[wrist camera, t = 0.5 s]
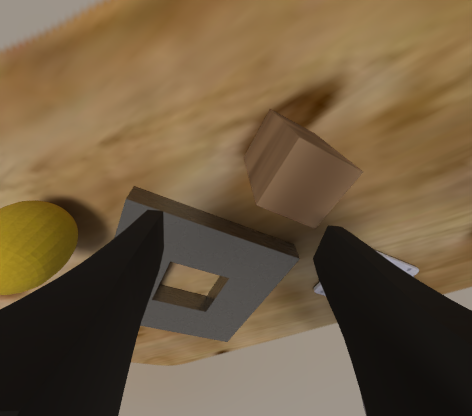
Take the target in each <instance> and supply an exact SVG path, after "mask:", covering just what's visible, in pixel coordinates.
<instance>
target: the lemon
mask: <svg viewBox="0 0 472 416" xmlns="http://www.w3.org/2000/svg"><path fill="white" fill-rule="evenodd" d="M77 241H78V229H77V225H76V222H75V221H74V219H73V217H72V216H71V215H70V214H69V213H68V212H67V211H66V210H64V209H63V208H61V207H59V206H57V205H55V204H52V203H49V202H43V201H22V202H18V203H15V204H11V205H8V206H5V207H3V208H1V209H0V295H9V294H16V293H21V292H25V291H28V290H30V289H33V288H35V287H38V286H39V285H41V284H43V283H44V282H46V281H47V280H48V279H50V278H51V277H52V276H53V275H55V274H56V273H57V272H58V271H59V270H60V269H61V268H62V267H63V266H64V265H65V264H66V263H67V262H68V260H69V259H70V257H71V255H72V254H73V252H74V250H75V248H76V245H77Z"/></svg>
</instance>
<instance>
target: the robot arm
mask: <svg viewBox="0 0 472 416" xmlns="http://www.w3.org/2000/svg"><path fill="white" fill-rule="evenodd" d="M163 251H164V217H163V211H159V210H147V211H145V212H144V213H143V214H142V215H141V216H140V217H139V218H137V219H136V220H135V221H134V222H133V223H132V224H131V225H130V226H128V227H127V228H126V229H125V230H124V231H123V232H121V233H120V234H119V235H118V236H117V237H115V238H114V239H113V240H112V241H110V242H109V243H108V244H107V245H105V246H104V247H103V248H101V249H100V250H99V251H97V252H96V253H95V254H93V255H92V256H91V257H89V258H88V259H86V260H85V261H84V262H82V263H81V264H79V265H78V266H76V267H75V268H73V269H71V270H70V271H68V272H67V273H65V274H64V275H62V276H60V277H59V278H57V279H55V280H54V281H52V282H50V283H48V284H47V285H45V286H43V287H41V288H39V289H38V290H36V291H34V292H32V293H30V294H29V295H27V296H25V297H23V298H22V299H20V300H18V301H16V302H14V303H12V304H10V305H8V306H6V307H4V308H2V309H0V416H118V414H119V410H120V405H121V401H122V396H123V392H124V388H125V384H126V379H127V375H128V371H129V367H130V363H131V358H132V354H133V350H134V346H135V342H136V338H137V334H138V331H139V328H140V325H141V321H142V318H143V316H144V313H145V310H146V307H147V304H148V301H149V298H150V296H151V293H152V290H153V287H154V284H155V281H156V278H157V276H158V273H159V269H160V265H161V261H162V256H163ZM313 260H314V264H315V268H316V272H317V275H318V278H319V281H320V282H319V283H318V284H317V285H316V286H315V287H314V292H315V293H318V294H321V295H324V296H326V297H327V300H328V302H329V304H330V306H331V309H332V311H333V313H334V315H335V318H336V320H337V322H338V324H339V327H340V329H341V332H342V334H343V337H344V340H345V343H346V346H347V349H348V352H349V355H350V358H351V361H352V364H353V368H354V371H355V374H356V378H357V381H358V385H359V388H360V391H361V395H362V400H363V406H364V410H365V414H366V416H472V311H471V310H469V309H467V308H465V307H463V306H462V305H460V304H458V303H456V302H454V301H452V300H451V299H449V298H447V297H445V296H444V295H442V294H440V293H439V292H437V291H435V290H434V289H432V288H430V287H428V286H427V285H425V284H424V283H422V282H420V281H419V280H417V279H416V278H414V275H416V274H417V273H418V272H419V269H418V268H417V267H415V266H413V265H410V264H408V263H405V262H403V261H401V260H398V259H396V258H393V257H391V256H388V255H386V254H383V253H381V252H378V251H376V250H374V249H372V248H371V247H370V246H368V245H367V244H365V243H364V242H363V241H361V240H360V239H359V238H357V237H356V236H354V235H353V234H351V233H350V232H349V231H347V230H345V229H344V228H342V227H339V226H328V227H327V229H326V231H325V233H324V235H323V238H322V240H321V242H320V244H319V246H318V249H317V251H316V253H315V255H314V257H313Z"/></svg>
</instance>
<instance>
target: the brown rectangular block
mask: <svg viewBox="0 0 472 416" xmlns="http://www.w3.org/2000/svg"><path fill="white" fill-rule="evenodd" d="M244 161H245V164H246V168H247V172H248V176H249V180H250V184H251V187H252V191H253V195H254V199H255V203H256V205H257V206H259V207H262V208H264V209H267V210H269V211H272V212H274V213H277V214H279V215H282V216H284V217H287V218H289V219H292V220H294V221H297V222H299V223H302V224H304V225H307V226H309V227H312V228H314V229H316V227H317V226H318V225H319V224H320V223H321V222H322V220H323V219H324V218H325V217H326V216H327V214H328V213H329V212H330V211H331V210H332V209H333V207H334V206H335V205H336V204H337V203H338V201H339V200H340V199H341V198H342V197H343V195H344V194H345V193H346V192H347V191H348V190H349V188H350V187H351V186H352V185H353V184H354V182H355V181H356V180H357V179H358V178H359V177H360V175H361V174H362V173H363V171H362V170H361V169H359V168H358V167H357V166H355V165H354V164H353V163H352V162H350V161H349V160H348V159H346V158H345V157H344V156H343V155H341V154H340V153H339V152H338V151H336V150H335V149H334V148H332V147H331V146H330V145H329V144H327V143H326V142H325V141H324V140H322V139H321V138H320V137H318V136H317V135H316V134H315V133H313V132H311V131H309V130H307V129H306V128H304V127H302V126H300V125H298V124H297V123H295V122H293V121H291V120H289V119H288V118H286V117H284V116H282V115H280V114H279V113H277V112H275V111H273V110H271V109H270V110H269V112H268V113H267V115H266V117H265V119H264V121H263V123H262V125H261V126H260V128H259V130H258V132H257V134H256V136H255V138H254V139H253V141H252V143H251V145H250V147H249V149H248V151H247V152H246V154H245V156H244Z"/></svg>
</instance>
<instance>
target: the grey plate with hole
mask: <svg viewBox="0 0 472 416" xmlns="http://www.w3.org/2000/svg"><path fill="white" fill-rule="evenodd" d="M147 210H159V211H163V217H164V251H163V256H162V261H161V265H160V269H159V273H158V276H157V278H156V281H155V284H154V287H153V290H152V293H151V296H150V298H149V301H148V304H147V307H146V310H145V313H144V316H143V318H142V321H141V326H146V327H151V328H156V329H162V330H167V331H172V332H177V333H183V334H188V335H193V336H198V337H204V338H209V339H214V340H219V341H225V342H228V340H229V339H230V338H231V337H232V336H233V335H234V334H235V332H236V331H237V330H238V329H239V328H240V327H241V326H242V324H243V323H244V322H245V321H246V320H247V319H248V318H249V316H250V315H251V314H252V313H253V312H254V311H255V310H256V308H257V307H258V306H259V305H260V304H261V303H262V302H263V300H264V299H265V298H266V297H267V296H268V295H269V294H270V292H271V291H272V290H273V289H274V288H275V287H276V286H277V284H278V283H279V282H280V281H281V280H282V279H283V278H284V276H285V275H286V274H287V273H288V272H289V271H290V270H291V268H292V267H293V266H294V265H295V264H296V263H297V262H298V260H299V259H300V258H299V256H298V253H297V251H296V248H295V246H294V244H291V243H288V242H286V241H283V240H280V239H277V238H275V237H272V236H269V235H266V234H264V233H261V232H258V231H255V230H253V229H250V228H247V227H244V226H242V225H239V224H236V223H233V222H231V221H228V220H225V219H222V218H220V217H217V216H214V215H211V214H209V213H206V212H203V211H200V210H198V209H195V208H192V207H189V206H187V205H184V204H181V203H179V202H176V201H173V200H170V199H168V198H165V197H162V196H159V195H157V194H154V193H151V192H148V191H146V190H143V189H140V188H137V187H135V186H134V187H133V189H132V190H131V192H130V193H129V195H128V197H127V198H126V201H125V204H124V207H123V211H122V214H121V218H120V221H119V225H118V228H117V231H116V235H115V237H117V236H118V235H119V234H120V233H121V232H123V231H124V230H125V229H126V228H127V227H128V226H130V225H131V224H132V223H133V222H134V221H135V220H136V219H137V218H139V217H140V216H141V215H142V214H143V213H144V212H145V211H147ZM170 262H174V263H177V264H181V265H184V266H188V267H192V268H195V269H199V270H202V271H206V272H209V273H213V274H216V275H220V277H219V278H218V280H217V281H216V283H215V284H214V286H213V287H212V289H211V290H210V292H209V293H208V295H207V296H203V295H199V294H195V293H191V292H187V291H183V290H179V289H175V288H171V287H167V286H163V285H159V284H160V282H161V280H162V277H163V275H164V273H165V271H166V269H167V267H168V265H169V263H170Z"/></svg>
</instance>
